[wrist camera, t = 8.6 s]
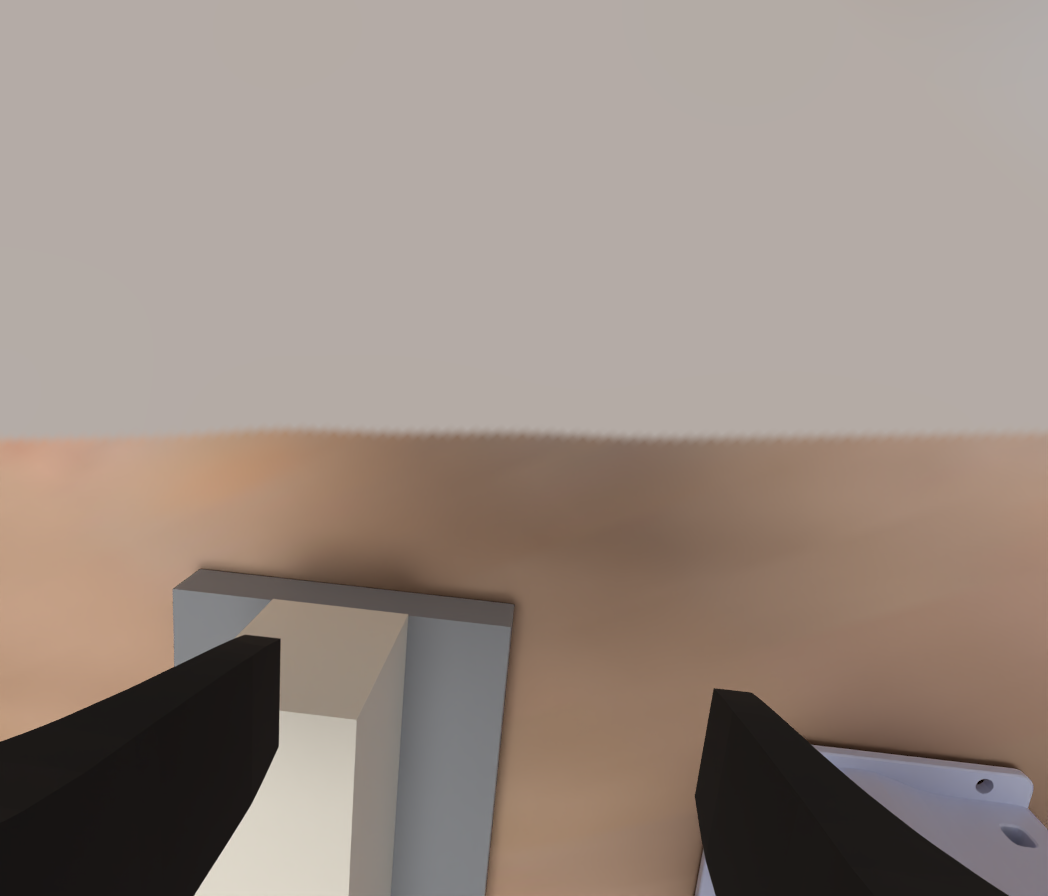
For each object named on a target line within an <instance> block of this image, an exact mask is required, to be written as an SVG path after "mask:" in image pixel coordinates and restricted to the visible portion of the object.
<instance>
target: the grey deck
mask: <svg viewBox="0 0 1048 896" xmlns="http://www.w3.org/2000/svg"><path fill="white" fill-rule="evenodd" d="M272 599H279V600H288V601H296V602H305V603H314V604H323V605H331V606H340V607H349V608H358V609H367V610H375V611H384V612H393V613H402V614H408V629H407V645H406V660H405V676H404V692H403V708H402V724H401V739H400V755H399V771H398V787H397V802H396V818H395V834H394V850H393V865H392V881H391V896H485V895H486V885H487V875H488V865H489V855H490V845H491V835H492V825H493V815H494V805H495V795H496V785H497V775H498V765H499V755H500V745H501V735H502V724H503V714H504V704H505V694H506V684H507V674H508V664H509V654H510V644H511V634H512V624H513V614H514V604H508V603H499V602H490V601H481V600H473V599H464V598H455V597H446V596H437V595H428V594H419V593H410V592H401V591H392V590H383V589H374V588H365V587H356V586H347V585H339V584H330V583H321V582H312V581H303V580H294V579H285V578H276V577H267V576H258V575H249V574H240V573H231V572H222V571H214V570H205V569H199V570H198V571H196V572H195V573H194V574H192V575H191V576H190V577H188V578H187V579H186V580H184V581H183V582H181V583H180V584H179V585H177V586H176V587H175V588H173V624H174V667H175V666H177V665H179V664H181V663H183V662H185V661H187V660H189V659H192V658H194V657H196V656H198V655H200V654H202V653H204V652H206V651H208V650H210V649H212V648H214V647H216V646H219V645H221V644H223V643H225V642H227V641H230V640H232V639H234V638H235V637H236V636H237V635H238V634H239V633H240V632H241V631H242V630H243V629H244V628H245V627H246V626H247V625H248V624H249V623H250V622H251V621H252V620H253V619H254V618H255V617H256V616H257V615H258V614H259V613H260V612H261V611H262V610H263V609H264V608H265V607H266V606H267V605H268V604H269V603H270V601H271V600H272Z"/></svg>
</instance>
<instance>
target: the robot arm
mask: <svg viewBox="0 0 1048 896" xmlns="http://www.w3.org/2000/svg"><path fill="white" fill-rule="evenodd" d="M280 651H281V639H280V638H271V637H262V636H254V635H242V636H240V637H237V638H234V639H232V640H230V641H227V642H225V643H223V644H221V645H219V646H216V647H214V648H212V649H210V650H208V651H206V652H204V653H202V654H200V655H198V656H196V657H194V658H192V659H189V660H187V661H185V662H183V663H181V664H179V665H177V666H175V667H173V668H171V669H169V670H167V671H165V672H163V673H161V674H159V675H156V676H154V677H152V678H150V679H148V680H146V681H144V682H142V683H140V684H138V685H136V686H134V687H132V688H129V689H127V690H125V691H123V692H120V693H118V694H116V695H114V696H111V697H109V698H107V699H105V700H102V701H100V702H98V703H95V704H93V705H91V706H89V707H86V708H84V709H82V710H80V711H77V712H75V713H73V714H71V715H68V716H66V717H64V718H61V719H59V720H56V721H54V722H52V723H49V724H47V725H44V726H41V727H39V728H36V729H34V730H31V731H29V732H26V733H23V734H21V735H18V736H15V737H12V738H10V739H7V740H4V741H1V742H0V896H194V895H195V893H196V892H197V890H198V889H199V887H200V885H201V884H202V882H203V881H204V879H205V878H206V876H207V875H208V873H209V871H210V870H211V868H212V867H213V865H214V864H215V862H216V860H217V859H218V857H219V856H220V854H221V853H222V851H223V849H224V848H225V846H226V845H227V843H228V842H229V840H230V838H231V837H232V835H233V834H234V832H235V830H236V829H237V827H238V826H239V824H240V822H241V821H242V819H243V818H244V816H245V814H246V813H247V811H248V809H249V808H250V806H251V804H252V803H253V800H254V798H255V796H256V794H257V792H258V790H259V788H260V786H261V784H262V782H263V780H264V778H265V776H266V774H267V771H268V769H269V767H270V765H271V763H272V760H273V758H274V756H275V754H276V752H277V749H278V747H279V709H280ZM982 779H985V780H984V781H983V782H982V783H981V784H977V783H978V781H980V780H982ZM976 784H977V785H976ZM1032 793H1033V784H1032V781H1031V780H1030V779H1029V778H1028V777H1027V776H1026V775H1025V774H1024V773H1023V772H1022V771H1020V770H1018V769H1014V768H1006V767H998V766H989V765H981V764H972V763H964V762H955V761H947V760H938V759H929V758H921V757H912V756H904V755H895V754H887V753H878V752H870V751H861V750H852V749H844V748H835V747H827V746H818V745H811V744H810V743H809V742H808V741H806V740H805V739H804V738H803V737H802V736H801V735H800V734H799V733H798V732H796V731H795V730H794V729H793V728H792V727H791V726H790V725H789V724H788V723H787V722H785V721H784V720H783V719H782V718H781V717H780V716H779V715H778V714H776V713H775V712H774V711H773V710H772V709H771V708H770V707H769V706H767V705H766V704H765V703H764V702H763V701H761V700H760V699H759V698H758V697H756V696H755V695H754V694H753V693H750V692H741V691H732V690H724V689H715V688H714V690H713V696H712V702H711V707H710V713H709V719H708V725H707V730H706V736H705V742H704V747H703V753H702V759H701V764H700V770H699V776H698V782H697V787H696V793H695V800H696V807H697V813H698V820H699V826H700V832H701V838H702V844H703V853H702V859H701V864H700V870H699V875H698V881H697V886H696V892H695V896H1048V829H1047V828H1046V827H1045V826H1044V825H1043V824H1042V823H1041V822H1040V821H1039V820H1038V819H1037V817H1036V816H1035V815H1034V814H1033V813H1032V812H1031V811H1030V810H1029V809H1028V806H1029V803H1030V799H1031V796H1032Z"/></svg>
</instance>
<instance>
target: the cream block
mask: <svg viewBox="0 0 1048 896" xmlns="http://www.w3.org/2000/svg"><path fill="white" fill-rule="evenodd" d="M407 629H408V614H402V613H393V612H384V611H375V610H367V609H358V608H349V607H340V606H331V605H323V604H314V603H305V602H296V601H288V600H279V599H272V600H271V601H270V603H269V604H268V605H267V606H266V607H265V608H264V609H263V610H262V611H261V612H260V613H259V614H258V615H257V616H256V617H255V618H254V619H253V620H252V621H251V622H250V623H249V624H248V625H247V626H246V627H245V628H244V629H243V630H242V631H241V632H240V633H239V634H238V635H237V636H236V637H235V638H237V637H240V636H242V635H254V636H262V637H271V638H280V639H281V651H280V709H279V747H278V749H277V752H276V754H275V756H274V758H273V760H272V763H271V765H270V767H269V769H268V771H267V774H266V776H265V778H264V780H263V782H262V784H261V786H260V788H259V790H258V792H257V794H256V796H255V798H254V800H253V803H252V804H251V806H250V808H249V809H248V811H247V813H246V814H245V816H244V818H243V819H242V821H241V822H240V824H239V826H238V827H237V829H236V830H235V832H234V834H233V835H232V837H231V838H230V840H229V842H228V843H227V845H226V846H225V848H224V849H223V851H222V853H221V854H220V856H219V857H218V859H217V860H216V862H215V864H214V865H213V867H212V868H211V870H210V871H209V873H208V875H207V876H206V878H205V879H204V881H203V882H202V884H201V885H200V887H199V889H198V890H197V892H196V893H195V895H194V896H391V881H392V865H393V850H394V834H395V818H396V802H397V787H398V771H399V755H400V739H401V724H402V708H403V692H404V676H405V660H406V645H407Z"/></svg>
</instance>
